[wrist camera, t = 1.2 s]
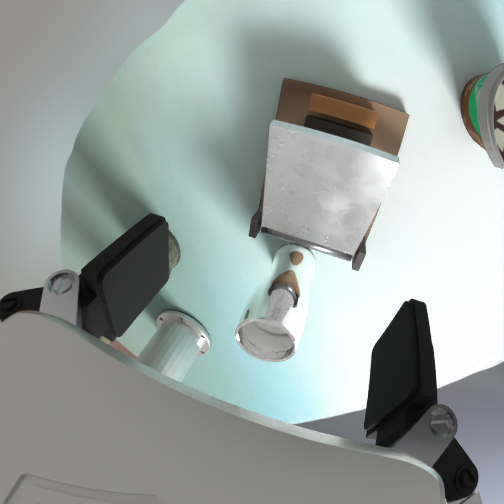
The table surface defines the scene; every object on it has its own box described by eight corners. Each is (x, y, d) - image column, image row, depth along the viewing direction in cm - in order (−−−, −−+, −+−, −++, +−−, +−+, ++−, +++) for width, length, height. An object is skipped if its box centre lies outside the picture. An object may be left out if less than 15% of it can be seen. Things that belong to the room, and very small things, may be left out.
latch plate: (358, 252, 37) (358, 278, 32) (258, 221, 39) (244, 242, 34) (406, 113, 26) (418, 118, 21) (286, 78, 28) (273, 76, 24)
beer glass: (264, 244, 41) (223, 318, 29) (313, 237, 38) (289, 316, 26) (278, 284, 44) (246, 362, 32) (323, 280, 41) (305, 363, 29)
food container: (482, 45, 17) (523, 35, 9) (516, 84, 18) (561, 89, 10) (431, 111, 25) (462, 120, 17) (466, 148, 25) (504, 172, 17)
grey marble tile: (351, 253, 33) (349, 264, 32) (264, 225, 35) (259, 235, 34) (398, 155, 21) (399, 165, 20) (274, 118, 23) (268, 126, 22)
